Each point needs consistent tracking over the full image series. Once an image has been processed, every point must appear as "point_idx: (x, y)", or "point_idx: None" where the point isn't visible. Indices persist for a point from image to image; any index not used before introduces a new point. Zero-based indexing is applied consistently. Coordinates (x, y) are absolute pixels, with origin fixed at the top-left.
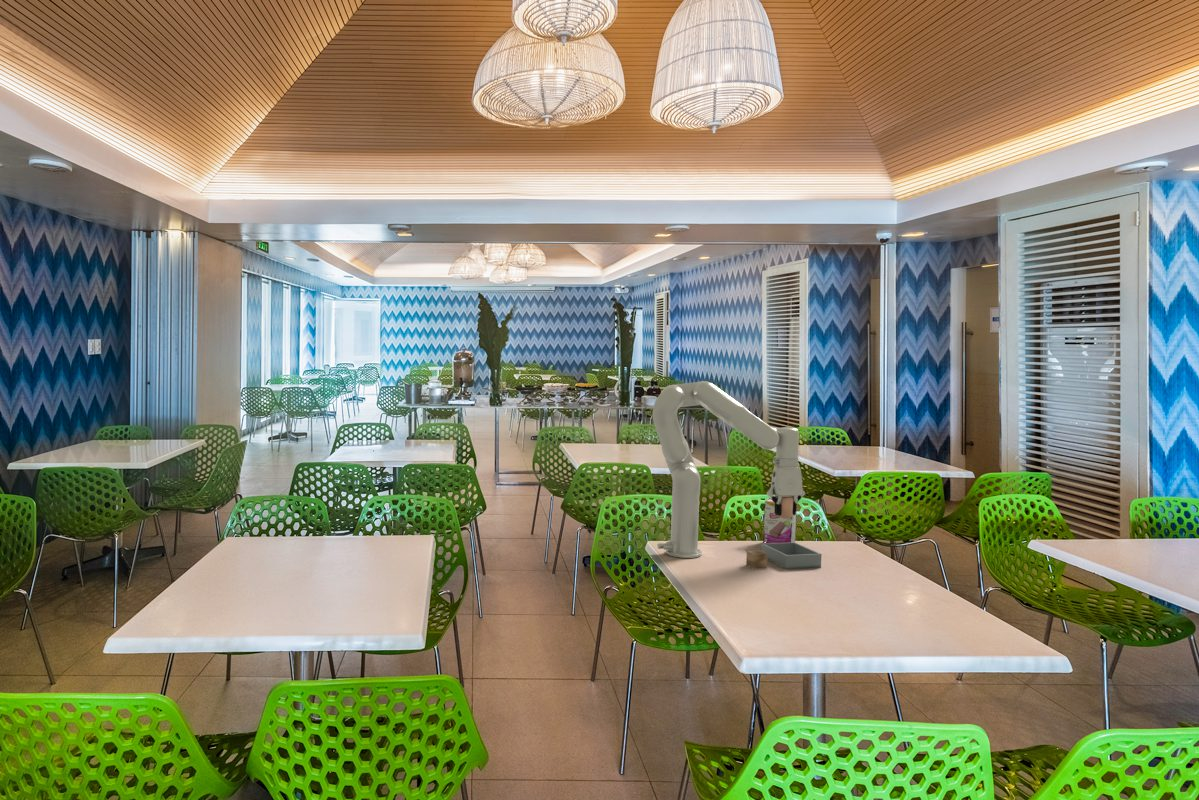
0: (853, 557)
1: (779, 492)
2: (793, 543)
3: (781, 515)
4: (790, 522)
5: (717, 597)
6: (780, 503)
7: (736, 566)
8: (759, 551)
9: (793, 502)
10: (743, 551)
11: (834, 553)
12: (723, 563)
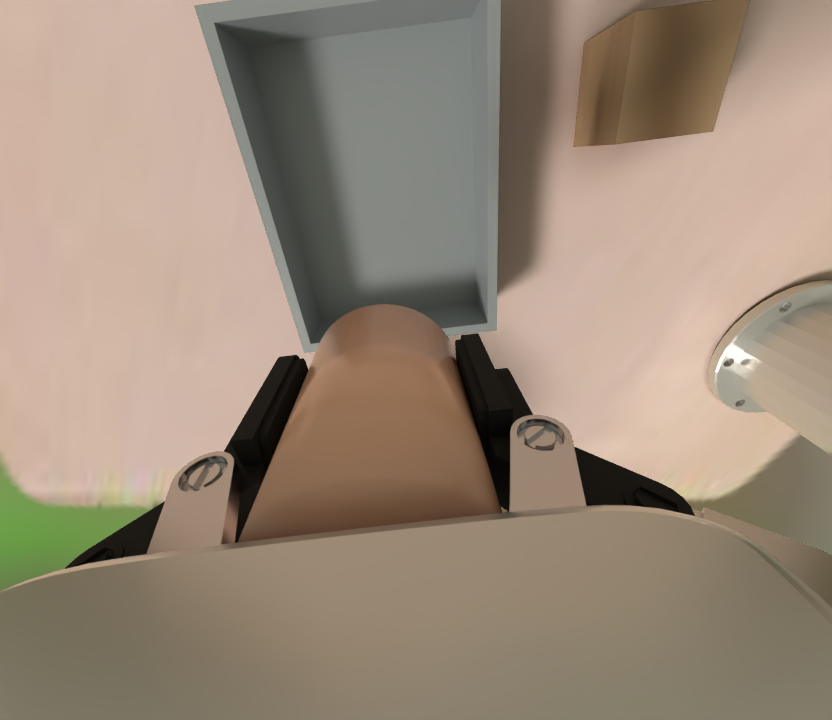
0: (18, 267)
1: (763, 603)
2: (315, 341)
3: (447, 343)
4: None
5: None
6: (482, 447)
7: (723, 107)
8: (646, 98)
9: (260, 478)
10: (516, 380)
11: (117, 341)
12: (741, 181)
